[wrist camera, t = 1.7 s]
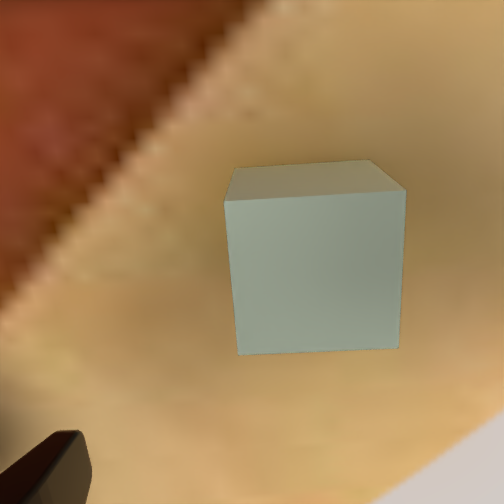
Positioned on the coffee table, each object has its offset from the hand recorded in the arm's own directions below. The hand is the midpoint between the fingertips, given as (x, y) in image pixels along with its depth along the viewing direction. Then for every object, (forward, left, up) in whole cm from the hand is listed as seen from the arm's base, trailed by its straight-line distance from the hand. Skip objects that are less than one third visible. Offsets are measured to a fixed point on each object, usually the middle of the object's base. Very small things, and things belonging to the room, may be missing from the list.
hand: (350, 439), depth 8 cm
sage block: (0, 0, -11) cm, 11 cm away
